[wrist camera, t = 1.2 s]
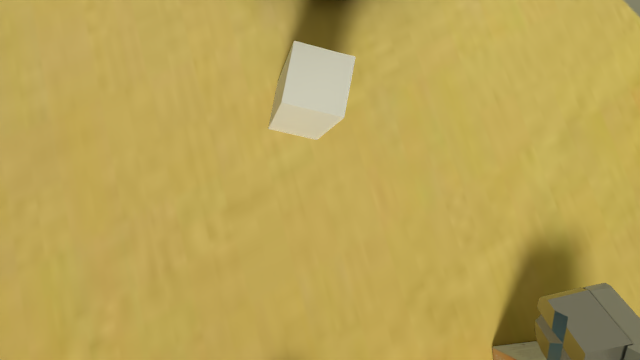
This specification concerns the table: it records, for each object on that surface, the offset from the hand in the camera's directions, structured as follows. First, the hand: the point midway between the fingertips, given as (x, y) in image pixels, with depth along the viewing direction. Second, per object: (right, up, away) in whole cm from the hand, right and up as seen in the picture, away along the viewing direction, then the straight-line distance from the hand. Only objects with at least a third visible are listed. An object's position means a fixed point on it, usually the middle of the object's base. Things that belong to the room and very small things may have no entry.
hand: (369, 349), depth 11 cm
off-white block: (-3, +10, +32) cm, 34 cm away
